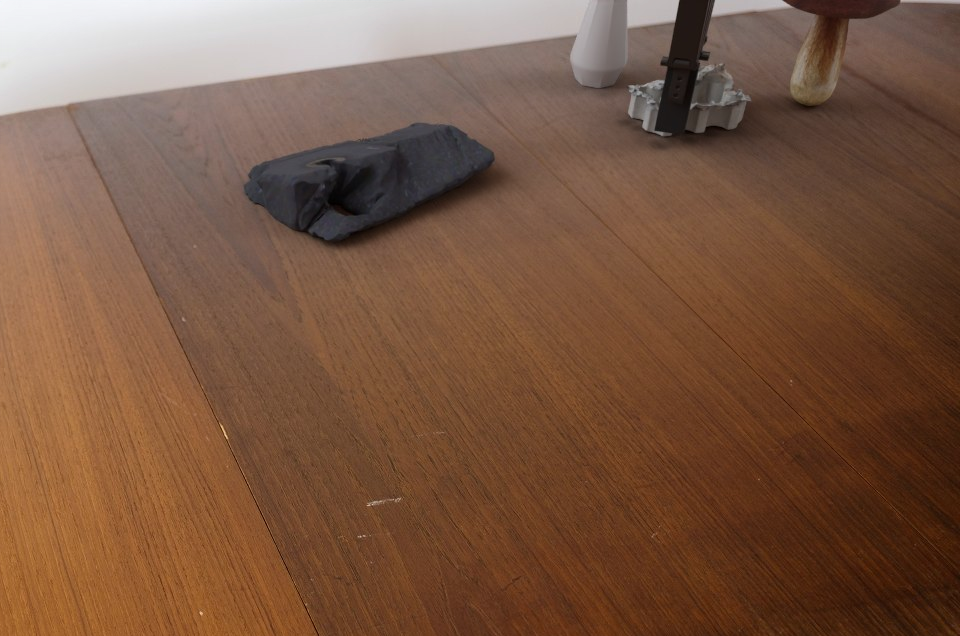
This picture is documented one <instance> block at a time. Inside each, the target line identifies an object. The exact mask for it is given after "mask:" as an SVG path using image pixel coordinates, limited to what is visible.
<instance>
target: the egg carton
mask: <svg viewBox="0 0 960 636" xmlns="http://www.w3.org/2000/svg"><path fill="white" fill-rule="evenodd" d="M725 66H726V63H719V64H716V63H711V64H709V65H702V66H700V67H699V71H698V76H697V80H696V85H695V89H694V93H693V98H692V102H691V107H690V111H689V115H688V120H687V124H686V129H685V131H690V132H693V133H694V134H701V133H704V132H705V131H706V127H711V126H716V127H721V128H723V129H725V130H735V129H736V128H737V127H738V124H739V123H741V121H743V119H744V113H745V110H746V105H747V103H750V104H752V103H753V100H752V99H751V97H750V94H746V95H745V93H744V90H743V89H742V88H738V89H737V91H735V83H734V78H733V76H732V75H731V74H730V73H729V72H728V70H726V68H725ZM664 81H665V79H657V80H653V81H650V82H647V83H646V84H640V85H639V84H638V83H637V84H636V85H633V84H631V85H630V84H627V85H626V88H627V87H628V92H629V93H631V95H630V102H629V106H628V110H627V114H628V115H629V116H630V118H631V119H637V120H642V121H643V122H642V125H641V127H642V128H643V130H645V131H646V132H649V133H653V134H657V135H658V136H659V135H660V136H661V137H671V136H672V135H673V134H672V133H665V132H659V131H654V129H655V124H656V119H657V115H658V110H659V105H660V100H661V96H662V91H663V86H664Z"/></svg>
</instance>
